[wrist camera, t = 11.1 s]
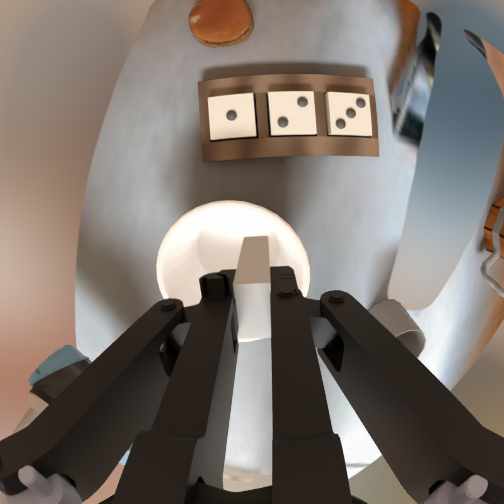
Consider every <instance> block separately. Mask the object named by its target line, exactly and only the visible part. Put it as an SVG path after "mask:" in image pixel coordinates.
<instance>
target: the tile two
mask: <svg viewBox="0 0 504 504" xmlns="http://www.w3.org/2000/svg"><path fill="white" fill-rule="evenodd" d="M268 106H269V119H270V133H271V136H304V135H315V134H317V130H316V116H315V104H314V93H313V91H283V92H268Z"/></svg>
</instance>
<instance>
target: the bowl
mask: <svg viewBox="0 0 504 504" xmlns="http://www.w3.org/2000/svg"><path fill="white" fill-rule="evenodd" d="M252 236H268V242H269V261H270V267H273V266H290V267H291V268H293V269H294V273H295V277H296V281H297V285H298V289H300V290H301V292H302V294H303V296H304V297H305V298H306V296H307V293H308V289H309V283H310V264H309V260H308V256H307V252H306V250H305V248H304V245H303V243H302V241H301V239H300V237H299V236H298V235H297V234H296V232H295V231H294V230H293V229H292V227H291V226H290V225H289V224H288V223H287V222H285V221H284V220H283V219H282V218H281V217H279V216H278V215H277V214H275V213H273V212H271V211H270V210H268V209H266V208H264V207H262V206H259V205H256V204H252V203H249V202H245V201H235V200H224V201H215V202H210V203H207V204H204V205H201V206H198V207H196V208H194V209H192V210H190V211H189V212H187V213H185V214H184V215H182V216H181V217H180V218H179V219H178V220H177V221H176V222H175V223H174V224H173V225H172V226H171V227H170V229H169V230H168V232H167V233H166V235H165V236H164V238H163V240H162V243H161V245H160V248H159V250H158V256H157V263H156V268H157V280H158V284H159V288H160V291H161V294H162V296H163V298H164V299H168V298H176V299H179V300H181V301H182V302H183V305H184V307H187V306H192V305H196V304H199V302H200V300H201V297H202V296H201V290H200V284H199V278H200V277H201V276H203V275H205V274H208V273H213V272H220V271H221V270H226V269H237V265H238V260H239V256H240V252H241V247H242V243H243V239H244V237H252ZM257 339H261V338H246V339H239V333H238V342H248V341H252V340H257Z"/></svg>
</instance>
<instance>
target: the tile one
mask: <svg viewBox="0 0 504 504" xmlns="http://www.w3.org/2000/svg"><path fill="white" fill-rule="evenodd" d="M208 109H209V123H210V137H211V140H214V141H219V140H229V139H241V138H254V137H257V134H256V121H255V107H254V96H253V93H246V94H235V95H225V96H216V97H209V98H208Z"/></svg>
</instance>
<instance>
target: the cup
mask: <svg viewBox="0 0 504 504" xmlns="http://www.w3.org/2000/svg"><path fill="white" fill-rule="evenodd" d="M369 312H370V313H371V314H372V315H373V316H374V317H375V318H376V319H377V320H378V321H379V322H380V323H381V324H382V325H383V326H385V327H386V328H387V329H388V330H389V331H390V332H391V333H392V334H393V335H394V336H395V337H396V338H397V339H398V340H399V341H400V342H401V343H402V344H403V345H404V346H405V347H406V348H407V349H408V350H409V351H410V352H411V353H412V354H413V355H414V356H415V357H416V358H418V357H419V356H420V354H421V352H422V351H423V349H424V346H425V341H426V339H425V337H424V334H423V332H422V331H421V330H420V328H419V327H418V326H417V324H416V323H415V322H414V320H413V319H412V318H411V316H410V315H409V314H408V313H407V311H406V310H405V309H404V307H403V306H402V305H401V304H400V303H399V302H397V301H396V300H394V299H393V300H383V301H381V302H379V303H376V304H375V305H374V306H373V307H372V308H371V309H370V310H369Z"/></svg>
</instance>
